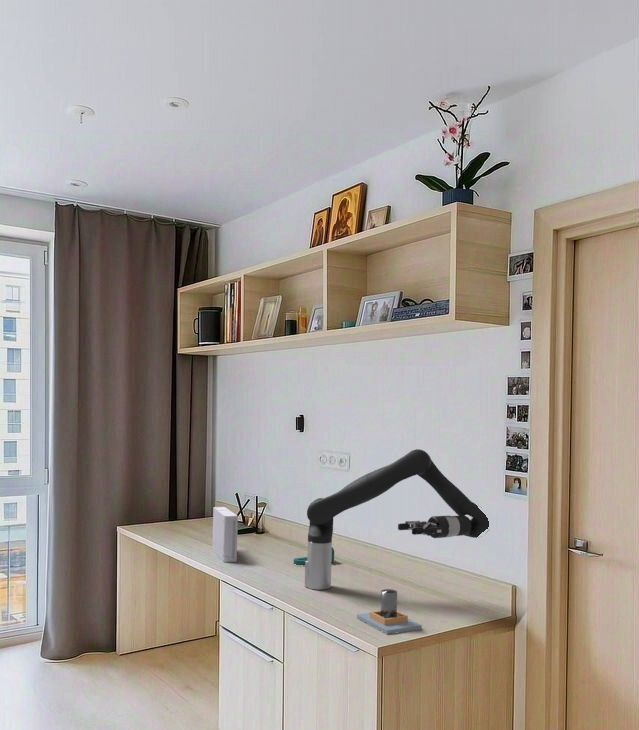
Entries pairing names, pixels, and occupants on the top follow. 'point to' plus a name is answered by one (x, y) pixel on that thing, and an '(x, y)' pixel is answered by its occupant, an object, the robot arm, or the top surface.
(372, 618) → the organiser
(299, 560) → the bracket
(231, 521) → the game console
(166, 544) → the top surface
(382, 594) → the grey capped cylinder
